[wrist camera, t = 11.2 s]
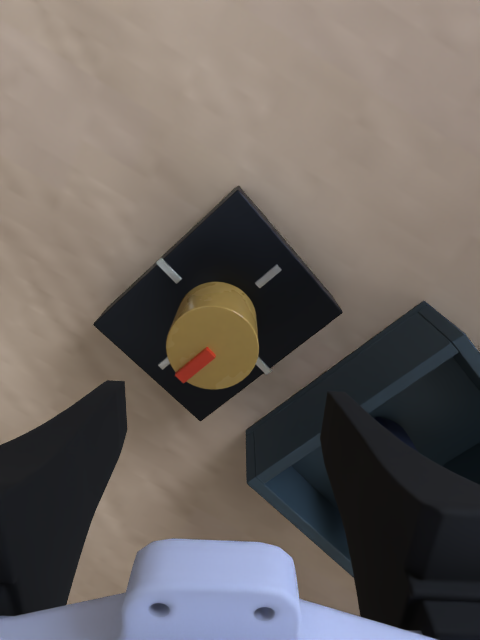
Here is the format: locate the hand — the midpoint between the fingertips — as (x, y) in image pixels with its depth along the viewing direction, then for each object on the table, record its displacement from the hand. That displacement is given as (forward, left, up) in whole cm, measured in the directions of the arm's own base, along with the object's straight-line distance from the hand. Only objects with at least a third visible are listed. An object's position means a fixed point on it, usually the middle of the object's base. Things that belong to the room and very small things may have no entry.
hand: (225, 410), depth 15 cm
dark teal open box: (-2, +12, -10) cm, 16 cm away
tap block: (0, -1, -10) cm, 10 cm away
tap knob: (0, -1, -7) cm, 7 cm away
